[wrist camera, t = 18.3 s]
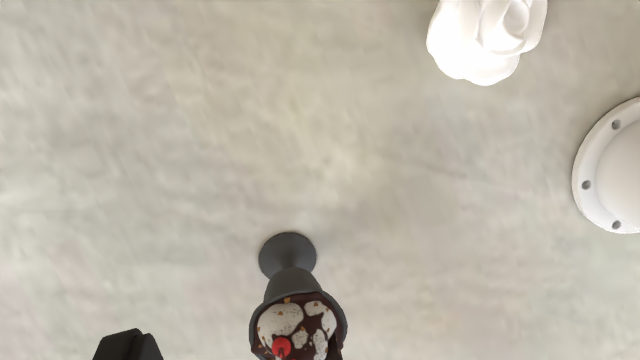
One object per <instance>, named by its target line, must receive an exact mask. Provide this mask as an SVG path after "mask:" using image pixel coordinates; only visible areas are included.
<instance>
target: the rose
mask: <svg viewBox="0 0 640 360" xmlns="http://www.w3.org/2000/svg"><path fill="white" fill-rule="evenodd" d="M546 14H547V0H440V1H439V4H438V6H437V8H436V10H435V12H434V14H433V17H432V19H431V22H430V25H429V29H428V33H427V38H426V45H427V49H428V51H429V52H430V53H431V54H432V56H433V58H434V60H435V62H436V64H437V65H438V67H439V68H440V69H441V70H442V71H443V72H444V73H445V74H446V75H448V76H450V77H452V78H454V79H462V78H465V79H467V80H469V81H471V82H473V83H475V84H477V85H491V84H494V83H497V82H498V81H500V80H502V79H504V78H507V77H508V76H510V75H511V74H512V73H513V72H514V70H515V69H516V67H517V64H518V61H519V57H520V54H521V53H522V52H527V51H529V50H531V49H533V48H534V47H535V46H536V45H537V44H538V42H539V41H540V38H541V35H542V30H543V25H544V22H545V18H546Z"/></svg>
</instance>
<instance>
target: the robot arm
mask: <svg viewBox="0 0 640 360" xmlns="http://www.w3.org/2000/svg"><path fill="white" fill-rule="evenodd" d="M572 191H573V196H574V199H575V202H576V204H577V206H578V208H579V210H580V211H581V212H582V213H583V215H584V216H585V217H586V218H587V219H589V220H590V221H591V222H593V223H594V224H596V225H597V226H599V227H601V228H602V229H604V230H607V231H610V232H614V233H623V234H629V233H638V232H640V97H637V98H633V99H631V100H629V101H627V102H624V103H622V104H620V105H619V106H617V107H616V108H614V109H613V110H611V111H610V112H608V113H607V114H606V115H605V116H604V117H603V118H601V119H600V120H599V121H598V122H597V123H596V124H595V125H594V127H593V128H592V129H591V130H590V132H589V133H588V134H587V136H586V137H585V139H584V141H583V142H582V144H581V146H580V148H579V150H578V153H577V155H576V158H575V161H574V165H573V170H572ZM93 360H164V359H163V357H162V355H161V353H160V350H159V348H158V346H157V343H156V341H155V339H154V337H153V336H152V335H151V334H150V333H147V334H144V335H143V334H142V332H141V331H140V330H139V329H137V328H134V329H131V330H127V331H123V332H119V333H116V334H112V335H108V336H105V337H103V338H102V340H101V341H100V343H99V346H98V348H97V350H96V353H95V355H94V357H93Z"/></svg>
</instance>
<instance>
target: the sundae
mask: <svg viewBox="0 0 640 360" xmlns="http://www.w3.org/2000/svg"><path fill="white" fill-rule="evenodd" d="M315 263H316V251H315V248H314V246H313V245H312V243H311V242H310V241H309V240H308V239H307V238H305V237H303V236H301V235H299V234H295V233H283V234H279V235H277V236H274V237H273V238H271V239H270V240H268V241H267V242H266V243H265V244H264V246H263V247H262V249H261V251H260V254H259V265H260V268H261V270H262V272H263V273H264V275H265V276H266V277H267V278H269V279H270V281H269V282H268V285H267V288H266V291H265V295H264V301H263V303H262V304H261V305H260V306H259V307H257V308H256V310H255V311H254V313H253V315H252V317H251V320H250V324H249V342H250V345H251V352H252V353H253V354H255V355H256V356H257V357H258V358H259V359H260V360H343V358H342V355H341V351H340V350H341V349H342V348H343V342H344V340H345V338H346V334H347V327H348V325H347V321H346V317H345V315H344V312H343V310H342V309H341V307H340V306H339V304H338V303H337V302H336V301H335V299H334V298H333V297H332V296H330V295H329V294H328V293H326V292H325V291H323V290H322V288H321V286H320V285H319V283H318V282H317V281H316V279H315V278H314V276H313V275H312V274H311V271H312V270H313V268H314V266H315Z"/></svg>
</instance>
